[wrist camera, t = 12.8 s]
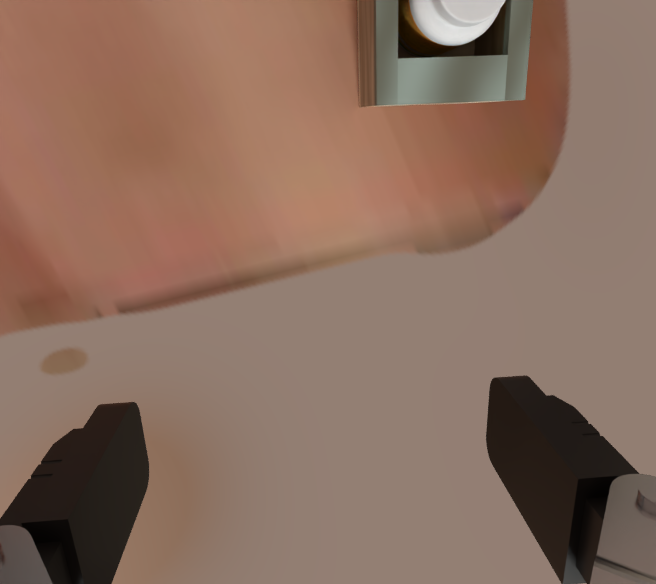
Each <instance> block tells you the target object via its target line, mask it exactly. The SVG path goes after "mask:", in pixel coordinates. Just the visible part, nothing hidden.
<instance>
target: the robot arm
mask: <svg viewBox="0 0 656 584" xmlns="http://www.w3.org/2000/svg"><path fill="white" fill-rule="evenodd" d="M486 442H487V449H488V454H489V458H490V461H491V463H492V465H493V467H494V468H495V470H496V472H497V473H498V475H499V477H500V479H501V480H502V482H503V484H504V486H505V487H506V489H507V491H508V492H509V494H510V496H511V497H512V499H513V501H514V503H515V504H516V506H517V508H518V509H519V511H520V513H521V515H522V516H523V518H524V520H525V521H526V523H527V525H528V527H529V528H530V530H531V532H532V533H533V535H534V537H535V539H536V540H537V542H538V544H539V545H540V547H541V549H542V551H543V552H544V554H545V556H546V557H547V559H548V561H549V562H550V564H551V566H552V568H553V569H554V571H555V573H556V575H557V576H558V578H559V580H560V581H561V583H562V584H578V583H587V584H656V477H655V476H651V475H644V474H639V473H638V472H637V471H636V470H635V469H634V468H633V467H632V466H631V465H630V464H629V463H628V462H627V461H626V459H624V457H623V456H622V455H621V454H620V453H619V452H618V451H617V450H616V449H615V448H614V447H613V446H612V445H611V444H610V443H609V442H608V441H607V440H606V439H605V438H604V437H603V436H600V434H599V432H598V431H597V430H596V429H595V428H594V427H593V426H592V425H591V424H588V421H587V420H586V419H585V418H584V417H583V416H582V415H581V414H580V413H579V411H578V410H577V409H576V408H574V407H573V406H571V405H569V404H568V403H566V402H564V401H563V400H561V399H559V398H557V397H555V396H553V395H551V396H546V395H545V394H544V393H543V391H541V390H540V388H539V387H538V386H537V385H536V384H535V383H534V382H533V381H532V380H531V378H529V377H528V376H513V377H498V378H493V379H492V381H491V384H490V391H489V405H488V419H487V432H486ZM148 480H149V461H148V456H147V450H146V444H145V439H144V433H143V427H142V422H141V416H140V412H139V408H138V406H137V404H136V403H135V402H128V403H113V404H101V405H98V406H97V408H96V409H95V411H94V412H93V414H92V415H91V417H90V419H89V420H88V421H87V423H86V424H85V426H84V428H81V429H73V430H72V431H70V432H69V433H68V434H66V435H65V436H64V437H62V438H61V439H60V440H58V441H57V442H56V443H54V444H53V446H52V447H51V448H50V450H49V451H48V452H47V454H46V455H45V457H44V458H43V460H42V461H41V465H38V466H37V468H36V469H35V471H34V472H33V474H32V475H31V479H28V481H27V482H26V483H25V485H24V486H23V488H22V489H21V490H20V492H19V493H18V495H17V496H16V497H15V499H14V500H13V502H12V503H11V504H10V506H9V507H8V509H7V510H6V511H5V513H4V514H3V516H2V517H1V518H0V584H111V583H112V581H113V578H114V575H115V573H116V570H117V568H118V564H119V562H120V560H121V557H122V554H123V551H124V549H125V546H126V544H127V541H128V538H129V536H130V533H131V530H132V528H133V525H134V522H135V520H136V517H137V514H138V512H139V509H140V506H141V504H142V501H143V498H144V495H145V493H146V490H147V486H148Z"/></svg>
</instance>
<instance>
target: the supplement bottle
mask: <svg viewBox="0 0 656 584" xmlns="http://www.w3.org/2000/svg"><path fill="white" fill-rule="evenodd" d="M505 1H506V0H398V44H399V45H400V46H401V47H402V48H403V49H404V50H405V51H407V52H408V53H410V54H412V55H415V56H418V57H433V56H437V55H440V54H443V53H445V52H447V51H449V50H452V49H454V48H457V47H459V46H461V45H464V44H466V43H468V42H470V41H472V40H474V39H476V38H477V37H479V36H480V35H482V34H483V33H484V32H485V31H486V30H487V29H488V28H489V27H490V26H491V24H492V23H493V22H494V20H495V18H496V17H497V15H498V13H499V11H500V8H501V7H502V5H503V4H504V2H505Z"/></svg>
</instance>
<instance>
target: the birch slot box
mask: <svg viewBox="0 0 656 584" xmlns="http://www.w3.org/2000/svg"><path fill="white" fill-rule="evenodd" d="M532 7H533V0H506V1H505V2H504V4H503V5H502V7H501V8H500V11H499V13H498V15H497V17H496V18H495V20H494V22H493V23H492V24H491V26H490V27H489V28H488V29H487V30H486V31H485V32H484V33H483V34H482V35H480V36H479V37H477V38H476V39H474V40H472V41H470V42H468V43H466V44H464V45H461V46H459V47H457V48H454V49H452V50H449V51H447V52H445V53H443V54H440V55H437V56H433V57H418V56H415V55H412V54H410V53H408V52H407V51H405V50H404V49H403V48H402V47H401V46H400V45H399V44H398V0H357V8H358V69H359V107H378V106H404V105H430V104H456V103H480V102H496V101H512V100H525V93H526V81H527V69H528V56H529V44H530V32H531V20H532Z"/></svg>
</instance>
